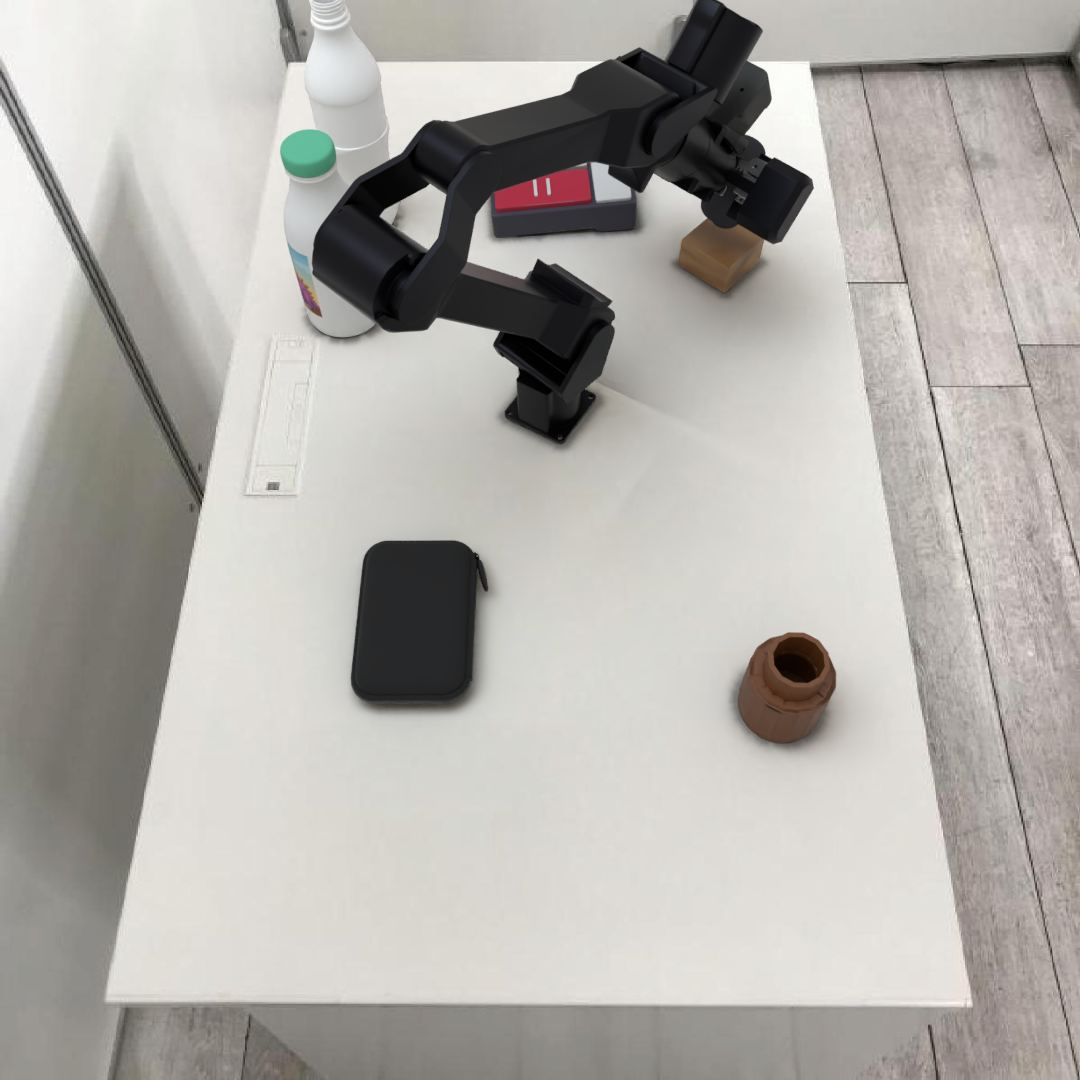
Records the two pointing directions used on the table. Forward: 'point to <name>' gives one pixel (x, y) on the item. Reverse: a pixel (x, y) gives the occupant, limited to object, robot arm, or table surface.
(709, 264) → the block
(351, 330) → the milk bottle
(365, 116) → the water bottle
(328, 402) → the table surface
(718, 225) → the bung
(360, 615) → the carrying case
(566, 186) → the calculator
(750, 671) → the bottle
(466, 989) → the table surface
